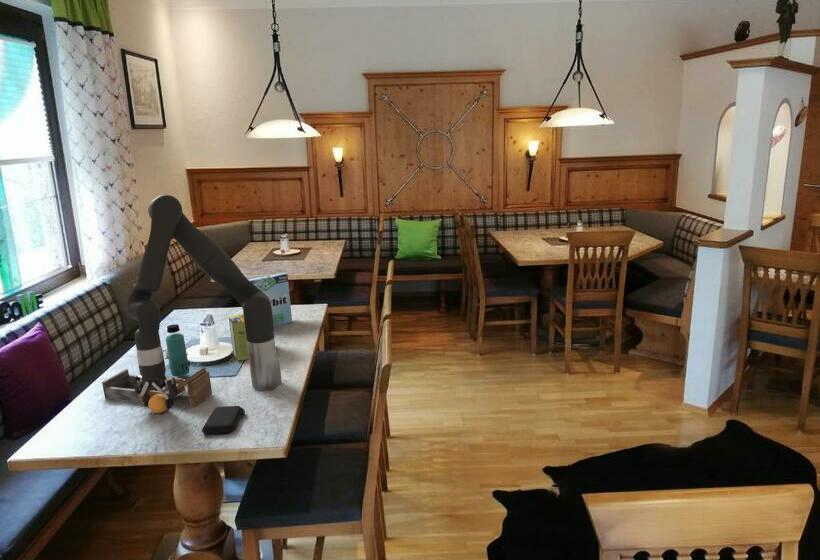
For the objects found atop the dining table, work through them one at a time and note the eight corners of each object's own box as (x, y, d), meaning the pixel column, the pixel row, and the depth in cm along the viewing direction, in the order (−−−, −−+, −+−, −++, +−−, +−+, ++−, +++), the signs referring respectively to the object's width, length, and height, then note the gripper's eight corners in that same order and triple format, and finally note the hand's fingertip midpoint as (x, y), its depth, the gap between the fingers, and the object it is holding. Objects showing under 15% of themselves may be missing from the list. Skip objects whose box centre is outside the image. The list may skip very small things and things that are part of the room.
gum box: (252, 332, 257) (246, 282, 251) (248, 329, 261) (242, 280, 255) (292, 322, 268) (288, 274, 262) (288, 319, 272) (283, 272, 266)
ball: (174, 408, 189) (171, 391, 187) (161, 417, 183) (158, 400, 182) (158, 406, 190) (155, 390, 189) (145, 415, 185) (142, 398, 183)
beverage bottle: (184, 381, 209) (176, 328, 204) (167, 380, 210) (159, 328, 205) (194, 373, 215) (186, 322, 210) (178, 372, 217) (170, 322, 211)
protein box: (276, 353, 231) (272, 316, 227) (237, 361, 225) (232, 323, 221) (270, 345, 241) (266, 309, 236) (232, 352, 234) (227, 316, 230)
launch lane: (214, 393, 198) (210, 366, 196) (194, 408, 188) (189, 379, 186) (128, 384, 208) (123, 358, 206) (105, 398, 198) (99, 371, 196)
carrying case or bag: (237, 435, 171) (248, 411, 185) (236, 426, 170) (247, 403, 184) (200, 437, 171) (214, 413, 185) (199, 428, 170) (213, 405, 184)
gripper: (178, 357, 184) (185, 403, 188) (140, 353, 188) (148, 399, 192) (162, 366, 177) (169, 414, 181) (123, 362, 181) (132, 410, 185)
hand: (158, 406), depth 186 cm, fingers open, 8 cm apart
